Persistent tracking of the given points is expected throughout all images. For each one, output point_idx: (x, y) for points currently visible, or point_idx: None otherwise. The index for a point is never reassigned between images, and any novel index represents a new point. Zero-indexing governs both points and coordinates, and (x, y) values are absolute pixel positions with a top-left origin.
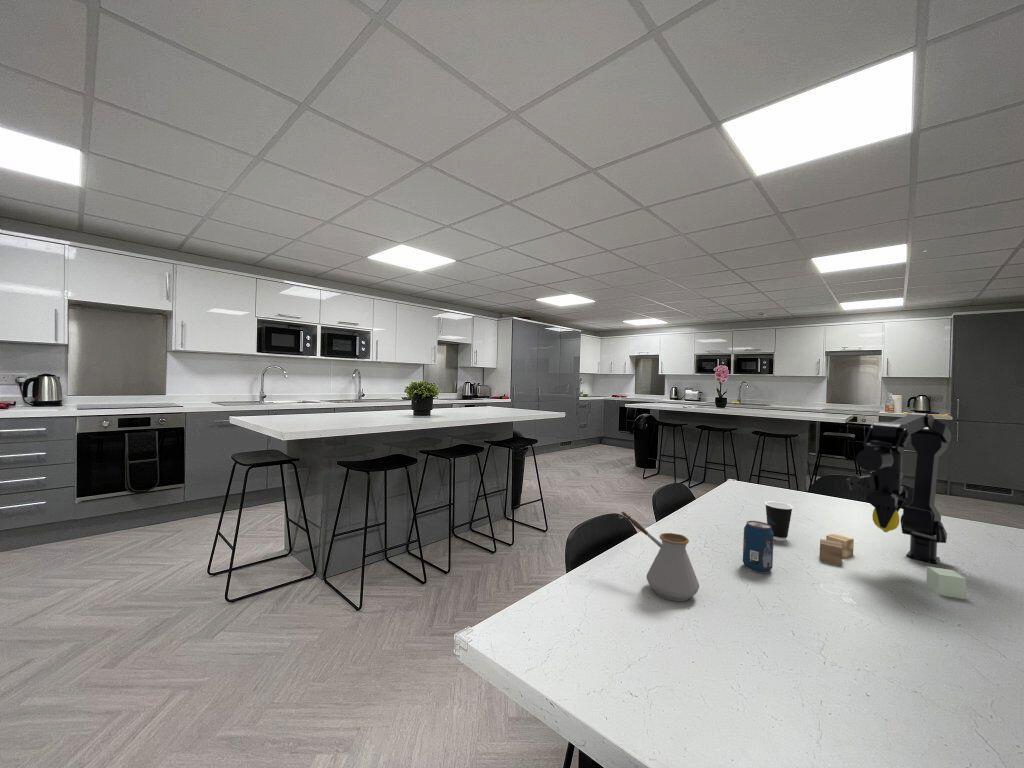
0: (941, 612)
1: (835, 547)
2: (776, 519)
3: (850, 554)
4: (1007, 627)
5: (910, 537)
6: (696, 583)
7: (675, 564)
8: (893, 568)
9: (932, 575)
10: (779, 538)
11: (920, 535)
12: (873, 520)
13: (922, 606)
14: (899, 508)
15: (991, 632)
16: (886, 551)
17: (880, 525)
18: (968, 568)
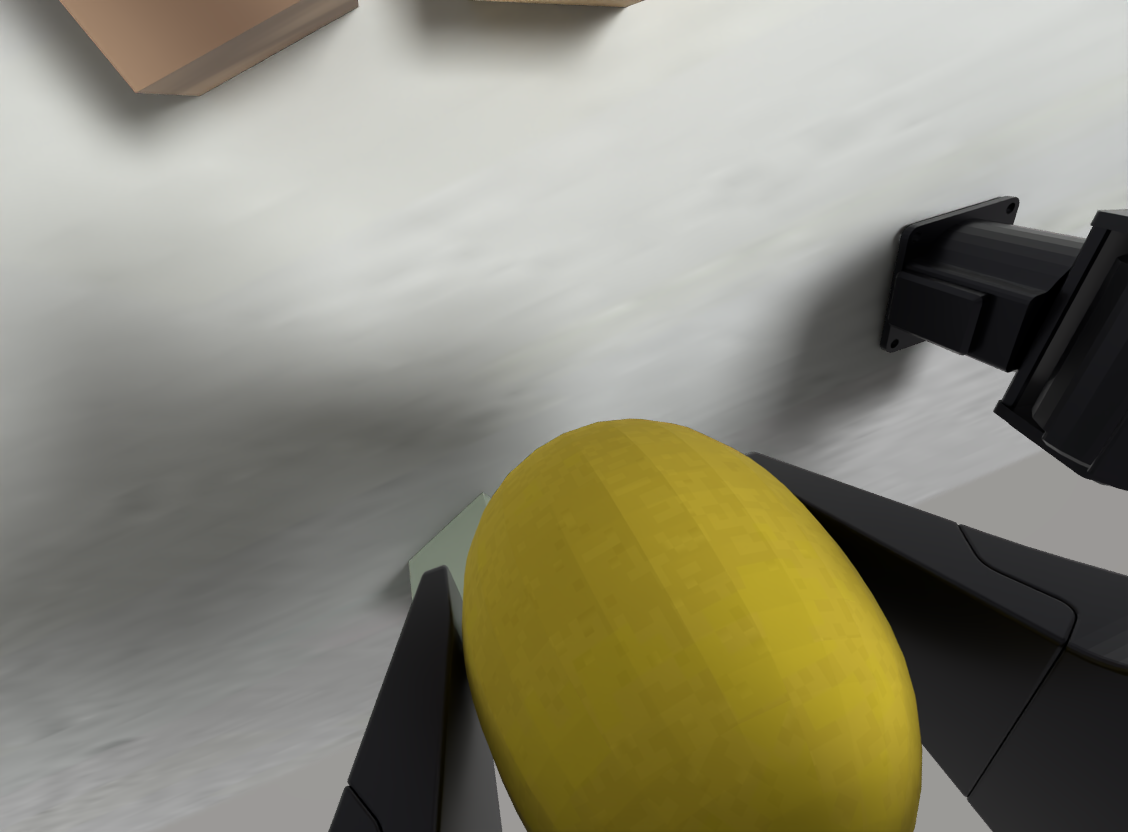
0: (169, 677)
1: (67, 3)
2: None
3: (579, 1)
4: (332, 741)
5: (1066, 249)
6: None
7: None
8: (598, 304)
9: (456, 584)
10: None
11: (1067, 322)
12: (523, 482)
13: (127, 638)
14: (950, 776)
15: (202, 771)
16: (928, 112)
17: (420, 591)
18: (919, 414)
